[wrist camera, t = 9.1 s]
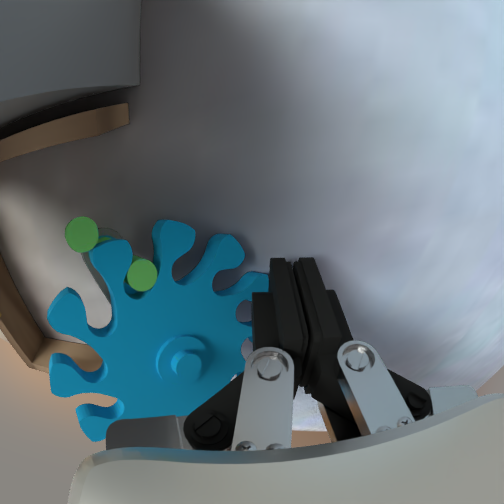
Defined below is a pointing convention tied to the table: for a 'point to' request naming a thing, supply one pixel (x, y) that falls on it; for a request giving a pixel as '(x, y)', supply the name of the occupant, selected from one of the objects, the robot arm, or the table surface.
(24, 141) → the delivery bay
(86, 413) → the gear
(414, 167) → the table surface
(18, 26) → the box
